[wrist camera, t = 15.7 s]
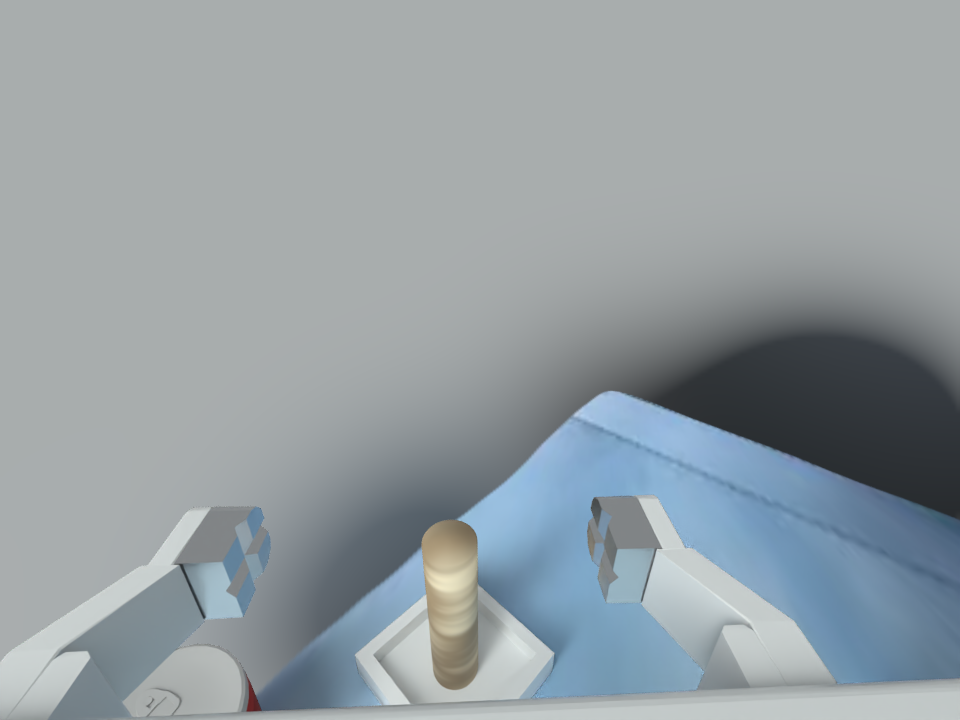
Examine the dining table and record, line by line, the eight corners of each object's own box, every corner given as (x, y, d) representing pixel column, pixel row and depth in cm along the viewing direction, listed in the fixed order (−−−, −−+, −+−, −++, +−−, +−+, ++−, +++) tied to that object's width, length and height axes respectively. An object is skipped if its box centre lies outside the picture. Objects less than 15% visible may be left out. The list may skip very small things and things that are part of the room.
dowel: (487, 663, 35) (488, 540, 29) (454, 701, 33) (447, 576, 26) (456, 632, 37) (451, 511, 31) (423, 665, 35) (410, 542, 28)
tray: (551, 671, 35) (554, 653, 34) (450, 802, 28) (449, 785, 27) (458, 584, 42) (458, 566, 41) (358, 672, 35) (354, 654, 34)
